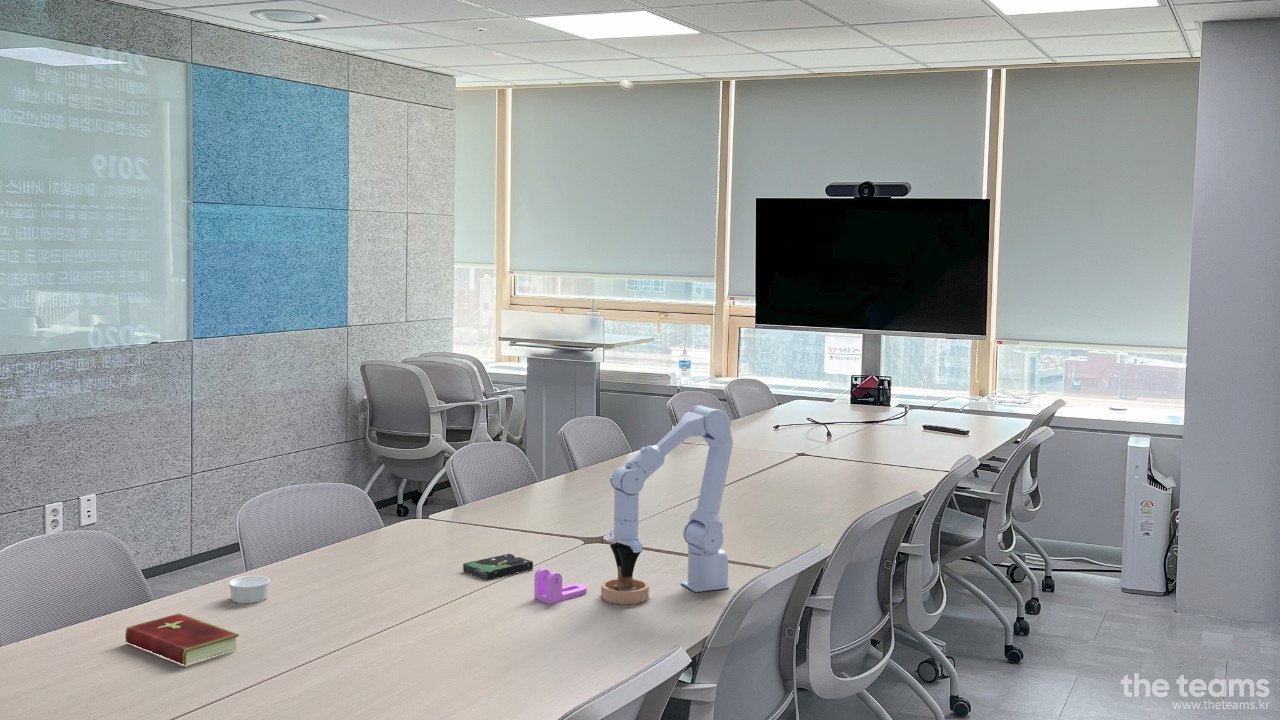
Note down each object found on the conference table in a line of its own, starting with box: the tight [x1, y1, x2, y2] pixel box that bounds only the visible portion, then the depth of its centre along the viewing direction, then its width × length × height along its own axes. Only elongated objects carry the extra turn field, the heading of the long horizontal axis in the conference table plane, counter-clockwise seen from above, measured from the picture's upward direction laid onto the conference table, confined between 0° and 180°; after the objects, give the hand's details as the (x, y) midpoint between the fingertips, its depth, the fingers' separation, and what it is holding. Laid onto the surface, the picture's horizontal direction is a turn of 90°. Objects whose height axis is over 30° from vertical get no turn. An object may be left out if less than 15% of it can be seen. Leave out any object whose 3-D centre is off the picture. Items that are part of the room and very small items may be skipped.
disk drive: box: [462, 553, 534, 581], centre depth 285 cm, size 10×3×15 cm
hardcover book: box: [125, 612, 240, 665], centre depth 226 cm, size 12×21×4 cm, turn 54°
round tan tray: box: [600, 577, 650, 606], centre depth 264 cm, size 11×11×3 cm
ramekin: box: [228, 575, 271, 604], centre depth 258 cm, size 9×9×4 cm
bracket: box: [533, 567, 588, 605], centre depth 265 cm, size 13×6×7 cm, turn 135°
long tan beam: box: [617, 566, 634, 591], centre depth 264 cm, size 3×2×7 cm, turn 114°
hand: (625, 575), depth 263 cm, fingers closed on long tan beam, 2 cm apart
